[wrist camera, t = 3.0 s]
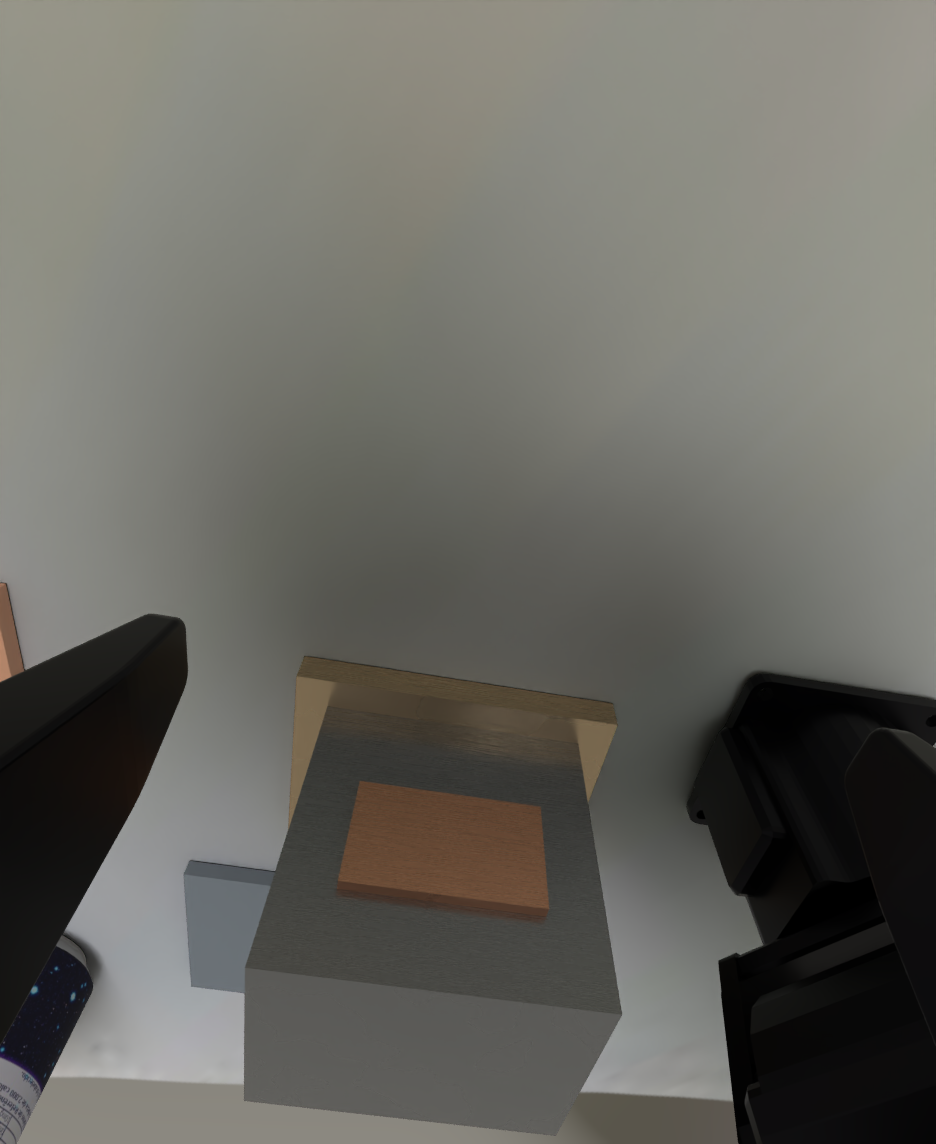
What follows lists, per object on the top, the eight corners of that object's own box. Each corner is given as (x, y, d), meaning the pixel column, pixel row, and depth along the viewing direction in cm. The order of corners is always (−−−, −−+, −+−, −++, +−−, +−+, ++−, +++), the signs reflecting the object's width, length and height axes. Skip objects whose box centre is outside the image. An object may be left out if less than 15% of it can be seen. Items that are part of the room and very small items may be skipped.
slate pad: (391, 887, 27) (389, 901, 26) (371, 994, 31) (369, 1008, 30) (189, 860, 26) (183, 874, 26) (196, 972, 30) (191, 986, 30)
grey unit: (612, 703, 21) (682, 995, 14) (554, 860, 25) (583, 1156, 18) (304, 656, 21) (194, 933, 13) (294, 824, 25) (204, 1114, 17)
